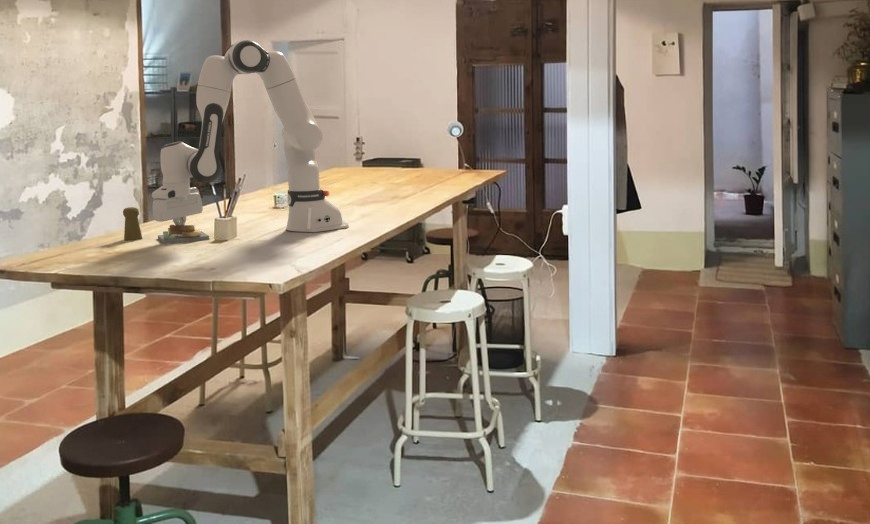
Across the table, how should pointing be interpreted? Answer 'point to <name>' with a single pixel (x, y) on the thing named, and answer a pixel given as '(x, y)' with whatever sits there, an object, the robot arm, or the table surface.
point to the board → (180, 237)
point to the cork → (131, 224)
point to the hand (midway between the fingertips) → (180, 230)
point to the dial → (184, 230)
